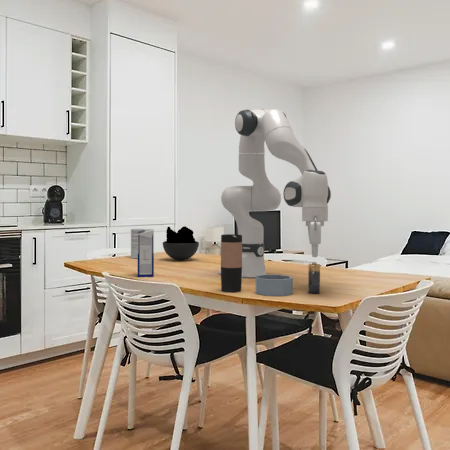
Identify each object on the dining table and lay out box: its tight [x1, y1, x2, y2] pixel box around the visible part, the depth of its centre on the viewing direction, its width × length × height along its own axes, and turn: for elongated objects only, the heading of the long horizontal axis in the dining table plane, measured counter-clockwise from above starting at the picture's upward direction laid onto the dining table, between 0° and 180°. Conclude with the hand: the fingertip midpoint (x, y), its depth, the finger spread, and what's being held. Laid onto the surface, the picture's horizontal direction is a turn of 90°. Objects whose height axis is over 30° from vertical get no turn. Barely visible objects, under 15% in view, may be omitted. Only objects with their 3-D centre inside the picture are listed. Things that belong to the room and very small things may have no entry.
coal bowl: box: [162, 225, 200, 261], centre depth 272 cm, size 20×20×19 cm
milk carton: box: [137, 229, 155, 278], centre depth 212 cm, size 7×7×20 cm
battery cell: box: [307, 261, 321, 295], centre depth 173 cm, size 4×4×11 cm
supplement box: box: [130, 228, 154, 260], centre depth 283 cm, size 10×9×17 cm
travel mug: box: [220, 233, 243, 293], centre depth 176 cm, size 8×8×20 cm
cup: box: [254, 274, 294, 297], centre depth 173 cm, size 13×13×6 cm
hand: (314, 255), depth 172 cm, fingers open, 8 cm apart
